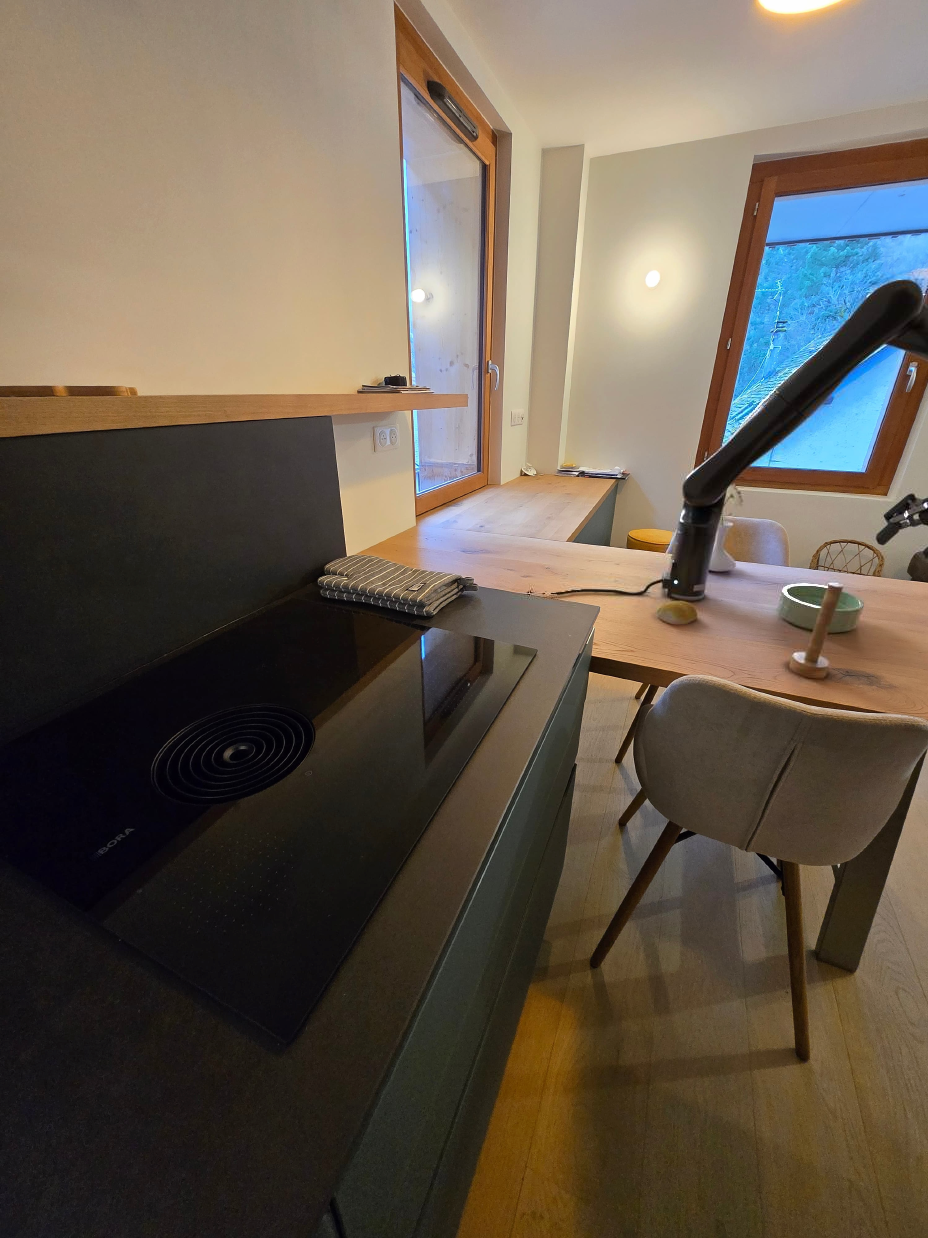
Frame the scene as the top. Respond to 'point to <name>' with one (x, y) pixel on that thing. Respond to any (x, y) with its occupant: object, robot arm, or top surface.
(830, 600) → the wooden plunger
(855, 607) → the bowl
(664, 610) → the bread roll
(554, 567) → the top surface
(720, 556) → the flower in vase
